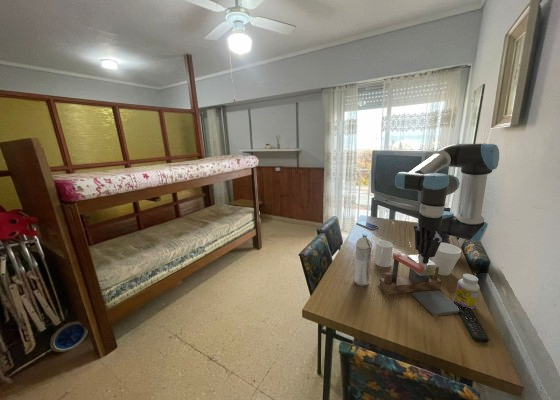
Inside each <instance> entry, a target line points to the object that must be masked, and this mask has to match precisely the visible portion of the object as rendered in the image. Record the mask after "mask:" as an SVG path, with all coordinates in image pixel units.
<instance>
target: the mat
mask: <svg viewBox="0 0 560 400" xmlns="http://www.w3.org/2000/svg"><path fill="white" fill-rule="evenodd" d="M412 296H413V297H414V298H415V299H416V300H417V301H418V302H419V303H420V304H421V305H422V306H423V307H424V308H425V309H426V310H427V311H428V312H429V313H430V314H432V316H442V315H450V314H451V315H452V314H458V312H459V308H460V307H459V305H458V304H455V303H454V302H453V301H452V300H451V299H449V297H447V296H445V294H443V293H442V292H441V291H440V290H439V289H436V290H426V291H416V292H413V293H412ZM458 307H459V308H458Z"/></svg>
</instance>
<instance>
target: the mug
mask: <svg viewBox="0 0 560 400" xmlns="http://www.w3.org/2000/svg"><path fill="white" fill-rule="evenodd" d="M393 248H394V247H393V243H392V242H390V241H388V240H383V239H382V240H377V241H376V243H375V254H374V264H375V265H377V266H378V267H381V268H389V267H391V266H392V258H393Z"/></svg>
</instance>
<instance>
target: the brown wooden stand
mask: <svg viewBox="0 0 560 400" xmlns="http://www.w3.org/2000/svg"><path fill="white" fill-rule="evenodd" d="M399 264H400V262H398V261H397V260H394V259H393V264H392V265H393V266H392V273H391V272H384V277H380V278H379V287H380V288H381V290H382V291H383V292H384V293H385V294H386V295H391V294H392V295H393V294H402V293H411V292H413V293H414V292H424V291H434V290H440V289H441V287H442V280H441V279H440V278H439V277H438V275H439V274H438V271H439V267H438V266H436V271H435V275H425V276H419V275H418V274H417V273H416V272H414V271H413V270H412V269H411V268H409V270H408V275H402V276H398V272H399V266H400V265H399Z"/></svg>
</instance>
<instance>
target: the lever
mask: <svg viewBox="0 0 560 400" xmlns="http://www.w3.org/2000/svg"><path fill="white" fill-rule="evenodd" d="M392 259H393V261H394V260H397V261H398V262H399V264H400V263H401V265H402V264H403V265H404V266H405V267H408V268H409V269H410V268H411V269H413V270H415V271H417V272H418V273H421V272H424V267H422V266H420V265H419V264H417V263H415V262H413V261H411V260H409V259H407V257H405V256H403V255H402V254H400V253H396V252H395V253H392Z"/></svg>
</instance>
